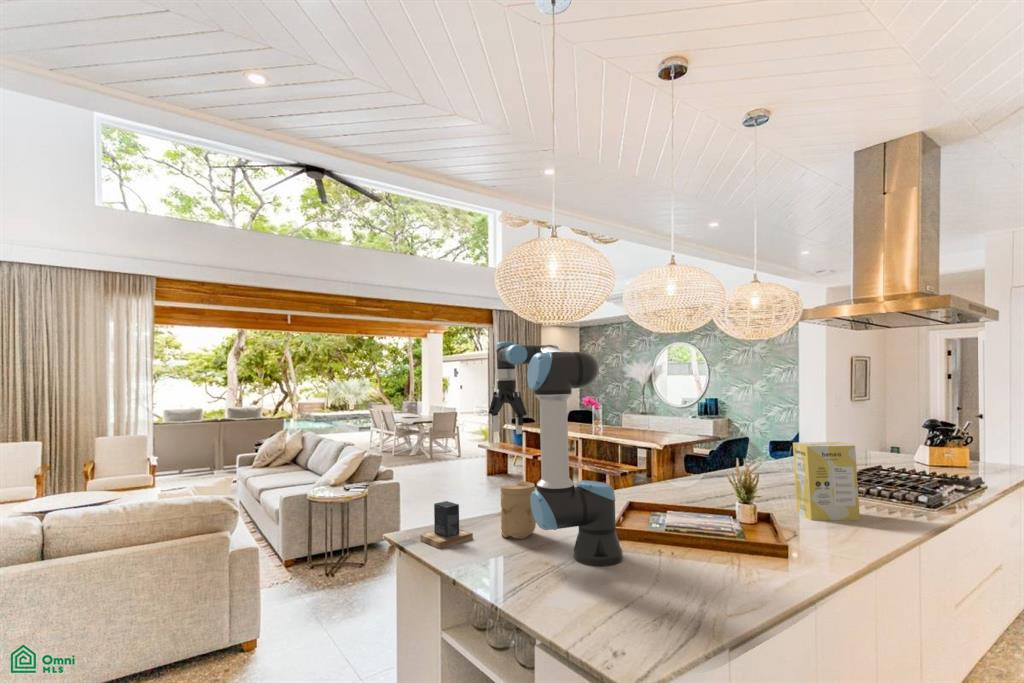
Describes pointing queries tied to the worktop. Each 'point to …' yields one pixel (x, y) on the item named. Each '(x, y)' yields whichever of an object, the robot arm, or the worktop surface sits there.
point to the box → (446, 519)
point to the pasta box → (826, 481)
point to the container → (517, 510)
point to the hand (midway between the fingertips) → (507, 432)
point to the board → (445, 539)
